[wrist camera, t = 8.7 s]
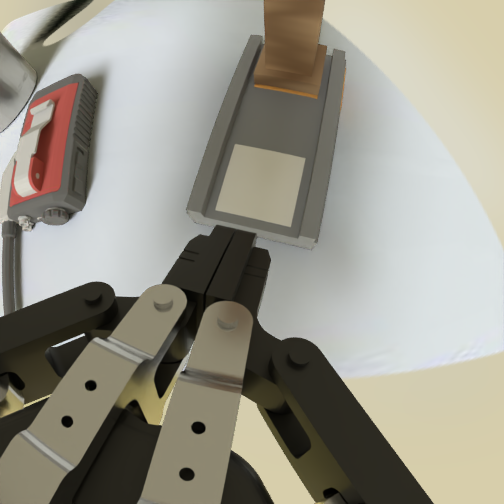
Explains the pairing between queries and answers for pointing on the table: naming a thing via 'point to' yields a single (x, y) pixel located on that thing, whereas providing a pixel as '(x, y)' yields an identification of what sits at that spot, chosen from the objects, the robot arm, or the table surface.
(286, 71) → the brown wooden block
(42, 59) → the table surface
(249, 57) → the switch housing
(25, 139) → the walkie-talkie
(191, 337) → the robot arm
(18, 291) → the table surface
